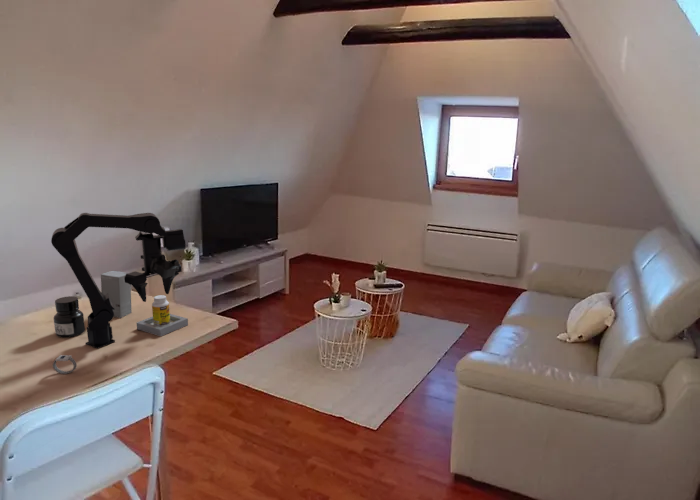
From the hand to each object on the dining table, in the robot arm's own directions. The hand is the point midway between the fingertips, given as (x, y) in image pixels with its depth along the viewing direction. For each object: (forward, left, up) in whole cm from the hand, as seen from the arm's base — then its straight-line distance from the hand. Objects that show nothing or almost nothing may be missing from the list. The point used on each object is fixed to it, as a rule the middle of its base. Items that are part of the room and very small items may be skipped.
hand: (156, 297), depth 177 cm
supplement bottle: (+5, +4, -12) cm, 14 cm away
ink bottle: (-15, +26, -13) cm, 33 cm away
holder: (+5, +4, -13) cm, 14 cm away
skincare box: (+5, +28, -13) cm, 31 cm away
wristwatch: (-33, 0, -13) cm, 36 cm away
